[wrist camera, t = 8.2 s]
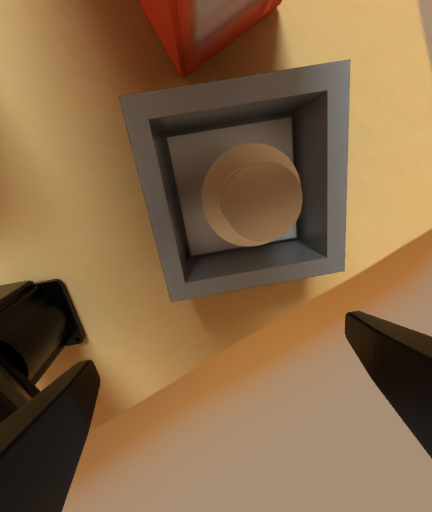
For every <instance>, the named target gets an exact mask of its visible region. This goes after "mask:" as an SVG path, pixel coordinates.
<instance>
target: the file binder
mask: <svg viewBox="0 0 432 512" xmlns="http://www.w3.org/2000/svg"><path fill="white" fill-rule="evenodd" d="M137 1H138V3H139V4H140V6H141V8H142V10H143V11H144V13H145V15H146V17H147V18H148V20H149V22H150V24H151V25H152V27H153V29H154V30H155V32H156V34H157V36H158V37H159V39H160V41H161V43H162V44H163V46H164V48H165V50H166V51H167V53H168V55H169V57H170V58H171V60H172V62H173V64H174V65H175V67H176V69H177V70H178V72H179V74H180V76H181V77H182V78H183V77H184V78H185V77H186V76H187V75H189V74H190V73H191V72H193V71H194V70H195V69H197V68H198V67H199V66H201V65H202V64H203V63H205V62H206V61H207V60H209V59H210V58H211V57H213V56H214V55H215V54H217V53H218V52H219V51H220V50H222V49H223V48H224V47H226V46H227V45H228V44H230V43H231V42H232V41H234V40H235V39H236V38H238V37H239V36H240V35H242V34H243V33H244V32H246V31H247V30H248V29H250V28H251V27H252V26H254V25H255V24H256V23H258V22H259V21H260V20H261V19H263V18H264V17H265V16H267V15H268V14H269V13H271V12H272V11H273V10H274V8H275V7H277V6H278V5H280V3H281V1H282V0H137Z"/></svg>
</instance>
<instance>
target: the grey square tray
mask: <svg viewBox="0 0 432 512" xmlns="http://www.w3.org/2000/svg"><path fill="white" fill-rule="evenodd" d="M349 91H350V59H349V60H343V61H337V62H331V63H324V64H318V65H312V66H305V67H299V68H293V69H287V70H280V71H274V72H268V73H261V74H255V75H249V76H243V77H236V78H230V79H224V80H218V81H211V82H205V83H199V84H192V85H186V86H180V87H174V88H167V89H161V90H155V91H148V92H142V93H136V94H130V95H123V96H119V99H120V103H121V107H122V111H123V115H124V119H125V123H126V127H127V131H128V135H129V139H130V143H131V147H132V151H133V155H134V158H135V162H136V166H137V170H138V174H139V178H140V182H141V186H142V190H143V194H144V198H145V202H146V206H147V210H148V214H149V218H150V222H151V226H152V230H153V233H154V237H155V241H156V245H157V249H158V253H159V257H160V261H161V265H162V269H163V273H164V277H165V281H166V285H167V289H168V293H169V297H170V301H171V302H174V301H180V300H185V299H191V298H197V297H202V296H208V295H213V294H219V293H225V292H230V291H236V290H241V289H247V288H252V287H258V286H264V285H269V284H275V283H280V282H286V281H292V280H297V279H303V278H308V277H314V276H319V275H325V274H331V273H336V272H342V271H345V235H346V199H347V163H348V127H349ZM289 117H291V125H292V148H293V165H294V166H295V168H296V170H297V173H298V175H299V178H300V183H301V190H302V196H303V201H302V208H301V212H300V214H299V217H298V219H297V221H296V237H295V238H289V239H284V240H278V241H272V242H268V243H266V244H263V245H259V246H251V247H249V246H244V247H238V248H232V249H226V250H221V251H215V252H209V253H204V254H198V255H192V256H191V253H190V248H189V243H188V238H187V233H186V228H185V224H184V219H183V214H182V209H181V204H180V199H179V194H178V189H177V185H176V180H175V175H174V170H173V165H172V160H171V155H170V150H169V146H168V141H167V137H173V136H179V135H185V134H191V133H198V132H204V131H210V130H216V129H222V128H228V127H234V126H240V125H246V124H253V123H259V122H265V121H271V120H277V119H283V118H289Z"/></svg>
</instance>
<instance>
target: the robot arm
mask: <svg viewBox="0 0 432 512" xmlns="http://www.w3.org/2000/svg"><path fill="white" fill-rule="evenodd" d="M54 284H57V285H58V287H56V286H55V285H54ZM345 335H346V338H347V340H348V341H349V343H350V344H351V346H352V348H353V350H354V351H355V353H356V354H357V356H358V357H359V359H360V361H361V363H362V364H363V366H364V367H365V369H366V371H367V372H368V374H369V375H370V377H371V378H372V380H373V381H374V383H375V384H376V385H377V387H378V388H379V389H380V391H381V392H382V393H383V395H384V396H385V397H386V399H387V400H388V401H389V402H390V404H391V405H392V407H393V408H394V409H395V411H396V412H397V413H398V415H399V416H400V417H401V419H402V420H403V421H404V423H405V424H406V425H407V426H408V428H409V429H410V430H411V432H412V433H413V434H414V436H415V437H416V438H417V440H418V441H419V442H420V444H421V445H422V446H423V448H424V449H425V450H426V452H427V453H428V454H429V455H430V457H431V458H432V337H430V336H428V335H425V334H423V333H420V332H417V331H414V330H411V329H408V328H406V327H403V326H400V325H397V324H394V323H392V322H389V321H386V320H383V319H380V318H377V317H375V316H372V315H369V314H366V313H363V312H361V311H354V312H348V313H347V314H346V316H345ZM77 337H79V338H80V339H79V338H77ZM84 339H85V334H84V332H83V329H82V327H81V325H80V322H79V320H78V317H77V315H76V313H75V310H74V308H73V305H72V303H71V301H70V298H69V296H68V293H67V291H66V289H65V286H64V284H63V282H62V281H61V280H59V279H53V280H47V281H42V282H36V283H34V282H33V281H24V282H18V283H12V284H6V285H1V286H0V512H62V509H63V506H64V503H65V500H66V497H67V494H68V491H69V488H70V485H71V483H72V480H73V477H74V474H75V471H76V468H77V465H78V462H79V459H80V456H81V453H82V450H83V447H84V444H85V441H86V438H87V435H88V432H89V428H90V424H91V420H92V416H93V412H94V408H95V404H96V399H97V395H98V391H99V387H100V377H99V374H98V372H97V369H96V367H95V365H94V362H93V361H92V360H85V361H80V362H78V363H76V364H75V365H74V366H72V367H71V368H70V369H69V370H67V371H66V372H65V373H64V374H62V375H61V376H60V377H59V378H57V379H56V380H55V381H54V382H52V383H51V384H50V385H48V386H47V387H46V388H45V389H43V390H42V391H40V390H39V389H38V388H37V387H36V386H35V385H36V383H37V382H38V381H39V379H40V378H41V377H42V375H43V374H44V373H45V371H46V370H47V369H48V368H49V366H50V365H51V364H52V362H53V361H54V360H55V358H56V357H57V356H58V354H59V353H60V352H61V350H62V349H63V348H64V346H69V345H74V344H80V343H82V342H83V341H84Z"/></svg>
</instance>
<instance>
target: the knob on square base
mask: <svg viewBox="0 0 432 512" xmlns="http://www.w3.org/2000/svg"><path fill="white" fill-rule="evenodd" d="M167 141H168V146H169V150H170V155H171V160H172V165H173V170H174V175H175V180H176V185H177V189H178V194H179V199H180V204H181V209H182V214H183V219H184V224H185V228H186V233H187V238H188V243H189V248H190V253H191V256H192V255H198V254H204V253H209V252H215V251H221V250H226V249H232V248H238V247H244V246H249V247H251V246H259V245H263V244H266V243H268V242H272V241H278V240H284V239H289V238H295V237H296V221H297V219H298V217H299V214H300V212H301V208H302V201H303V196H302V190H301V183H300V178H299V175H298V173H297V170H296V168H295V166H294V165H293V148H292V125H291V117H289V118H283V119H277V120H271V121H265V122H259V123H253V124H246V125H240V126H234V127H228V128H222V129H216V130H210V131H204V132H198V133H191V134H185V135H179V136H173V137H167Z"/></svg>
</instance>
